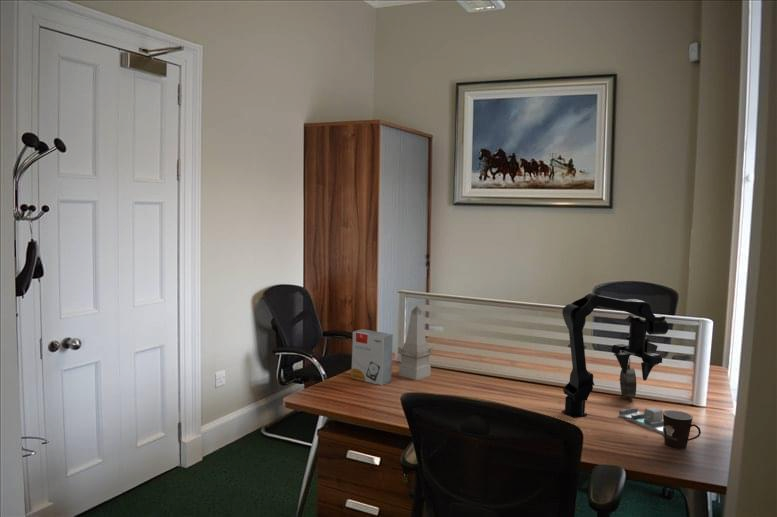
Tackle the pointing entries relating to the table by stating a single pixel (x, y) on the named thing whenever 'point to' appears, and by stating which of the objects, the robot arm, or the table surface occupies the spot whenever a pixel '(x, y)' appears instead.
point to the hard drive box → (371, 356)
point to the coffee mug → (677, 429)
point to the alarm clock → (628, 382)
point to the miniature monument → (415, 349)
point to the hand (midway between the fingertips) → (634, 376)
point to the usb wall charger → (653, 414)
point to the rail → (641, 420)
